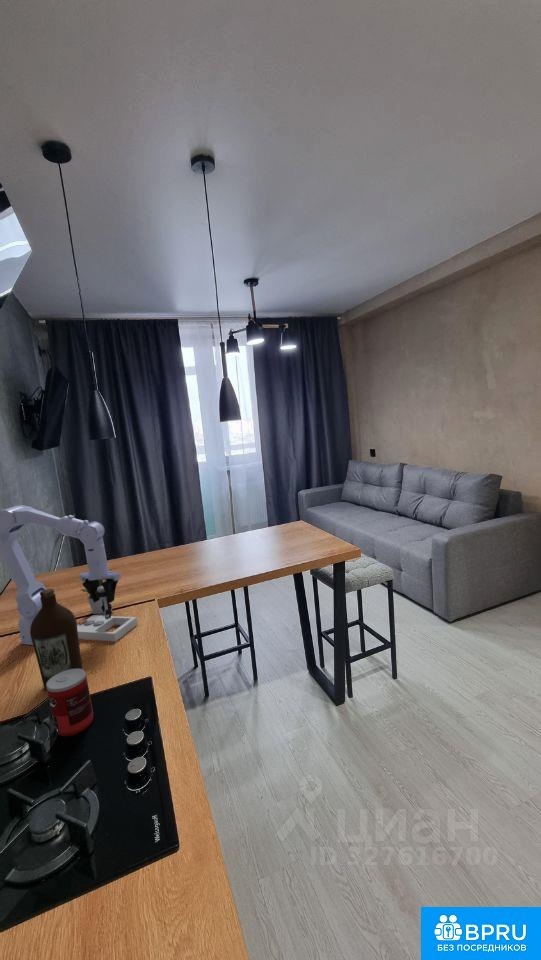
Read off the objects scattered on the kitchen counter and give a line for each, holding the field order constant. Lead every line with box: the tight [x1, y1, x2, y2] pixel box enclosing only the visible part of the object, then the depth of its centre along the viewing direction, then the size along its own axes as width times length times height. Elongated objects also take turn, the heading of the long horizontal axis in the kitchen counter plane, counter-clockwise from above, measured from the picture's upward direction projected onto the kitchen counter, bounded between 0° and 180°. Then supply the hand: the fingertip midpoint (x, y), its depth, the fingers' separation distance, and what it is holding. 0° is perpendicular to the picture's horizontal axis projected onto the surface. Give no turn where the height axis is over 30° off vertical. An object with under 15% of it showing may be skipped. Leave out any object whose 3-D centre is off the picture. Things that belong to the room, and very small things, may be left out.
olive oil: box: [30, 588, 84, 692], centre depth 108 cm, size 11×11×25 cm
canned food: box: [46, 668, 94, 737], centre depth 92 cm, size 8×8×11 cm
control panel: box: [77, 614, 138, 642], centre depth 137 cm, size 18×11×3 cm, turn 71°
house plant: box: [76, 567, 116, 615], centre depth 153 cm, size 14×14×16 cm
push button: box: [95, 586, 114, 620], centre depth 135 cm, size 7×5×10 cm
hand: (103, 601), depth 135 cm, fingers closed on push button, 5 cm apart
